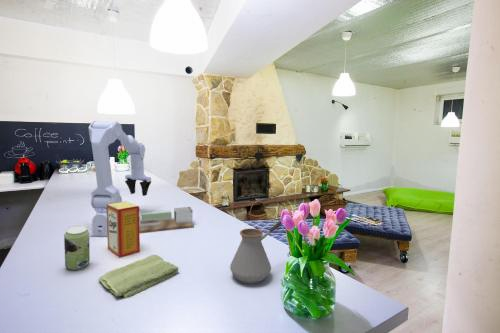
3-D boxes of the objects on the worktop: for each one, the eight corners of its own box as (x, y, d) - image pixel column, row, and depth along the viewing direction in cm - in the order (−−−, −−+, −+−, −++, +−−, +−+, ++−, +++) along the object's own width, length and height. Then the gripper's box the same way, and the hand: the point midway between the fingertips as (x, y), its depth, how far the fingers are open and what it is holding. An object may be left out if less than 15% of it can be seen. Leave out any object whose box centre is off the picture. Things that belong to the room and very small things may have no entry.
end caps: (138, 228, 109) (138, 214, 108) (138, 224, 114) (138, 210, 114) (192, 223, 118) (192, 210, 117) (189, 219, 123) (189, 206, 123)
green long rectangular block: (141, 222, 121) (141, 214, 121) (141, 220, 124) (141, 213, 123) (171, 219, 126) (171, 212, 126) (170, 217, 129) (170, 210, 129)
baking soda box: (107, 249, 91) (106, 203, 89) (127, 244, 96) (126, 200, 94) (119, 257, 84) (118, 208, 83) (139, 251, 89) (138, 205, 88)
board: (138, 233, 106) (138, 230, 106) (138, 224, 117) (138, 222, 117) (193, 227, 115) (193, 225, 115) (188, 219, 126) (188, 217, 126)
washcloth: (95, 283, 70) (95, 272, 70) (156, 261, 84) (156, 251, 83) (118, 304, 62) (118, 291, 61) (181, 275, 75) (181, 264, 75)
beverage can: (85, 259, 82) (83, 222, 81) (94, 267, 78) (93, 227, 77) (61, 267, 78) (59, 227, 76) (70, 275, 73) (68, 233, 72)
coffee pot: (247, 293, 67) (249, 235, 65) (221, 274, 76) (222, 223, 74) (302, 268, 81) (304, 219, 79) (274, 255, 89) (276, 211, 88)
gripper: (155, 167, 131) (156, 194, 133) (132, 165, 136) (133, 190, 139) (144, 169, 125) (145, 197, 127) (121, 167, 130) (122, 194, 132)
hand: (138, 194), depth 132 cm, fingers open, 7 cm apart
